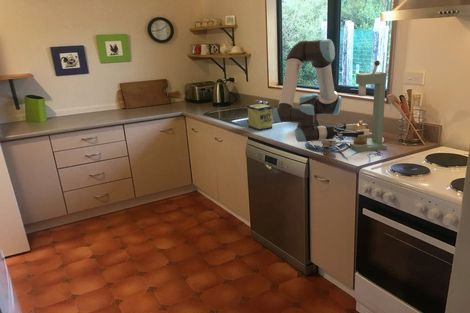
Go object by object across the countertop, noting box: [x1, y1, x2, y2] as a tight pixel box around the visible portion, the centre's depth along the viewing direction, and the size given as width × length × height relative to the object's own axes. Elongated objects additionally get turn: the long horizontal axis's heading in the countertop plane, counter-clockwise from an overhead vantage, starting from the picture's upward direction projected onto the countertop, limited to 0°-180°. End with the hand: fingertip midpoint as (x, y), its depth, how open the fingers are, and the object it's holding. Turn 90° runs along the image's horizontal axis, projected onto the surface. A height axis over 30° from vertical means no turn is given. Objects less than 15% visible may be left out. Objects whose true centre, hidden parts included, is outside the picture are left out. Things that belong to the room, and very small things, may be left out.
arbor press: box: [349, 60, 388, 153], centre depth 194 cm, size 16×16×46 cm
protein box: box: [247, 103, 273, 132], centre depth 255 cm, size 10×16×16 cm
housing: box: [352, 120, 369, 145], centre depth 198 cm, size 7×7×12 cm
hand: (363, 128), depth 198 cm, fingers open, 13 cm apart
